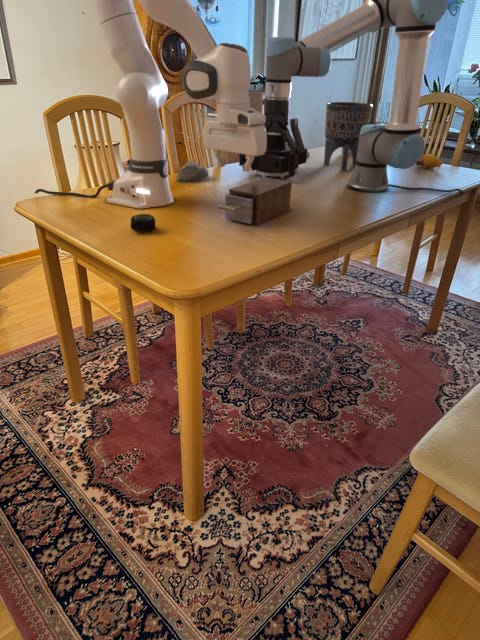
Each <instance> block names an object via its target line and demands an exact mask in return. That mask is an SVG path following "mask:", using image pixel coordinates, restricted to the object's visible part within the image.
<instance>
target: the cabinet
mask: <svg viewBox="0 0 480 640" xmlns="http://www.w3.org/2000/svg"><path fill="white" fill-rule="evenodd" d="M292 183H293V182H292V181H290V180H289V181H288V180H284V179H277V178H272V177H267V176H266V177H261V178H259V179H255V180H253V181H250V182H247V183H243V184H240V185H238V186H234V187H232V188H229V189H228V194H230V195H233V194H239V195H244V196H249V197H254V198H255V206H254V219H253V220H252V223H251V224H250V225H254V226H258V225H260V224H262V223H264V222H266V221H269V220H271V219H273V218H275V217H277V216H279V215H282V214H284V213H286V212H288V211H290V208H291V198H292V197H291V194H292Z"/></svg>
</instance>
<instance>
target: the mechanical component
mask: <svg viewBox="0 0 480 640" xmlns="http://www.w3.org/2000/svg"><path fill="white" fill-rule="evenodd" d="M238 154H239V153H238ZM290 154H292V152H291V150H290V148H289V146H288V145H287V143H286V141H285V139H284V138H283V136H282V135H281V134H280V133H274V132H272V133H270V132H268V133H267V148H266V152H265V153H264V154H263V155H260V156H259V158H258V169H257V170H255V173H256V174H257V175H261V178H264V177H266V178H267V177H279V178H280V179H285V176H288V173H289V160H290ZM310 156H311V154H310V152H309V151H308V148H305V152H303V153H300V154H299V158H298V165H296V166H295V174H296V173H298V171H299V167H300V165H303V164H304V165H305V164H307V160H309V158H310ZM238 157H239V159H238V166H240V167H243V165H244V164H245V163H246V161H247V159H246V154H239V155H238ZM251 169H252V164H251Z"/></svg>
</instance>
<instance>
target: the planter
mask: <svg viewBox="0 0 480 640" xmlns="http://www.w3.org/2000/svg"><path fill="white" fill-rule="evenodd" d="M373 107H374V106H373V104H372V103H367V102H353V101H333V102H327V103H326V109H325V124H324V125H325V126H324V139H325V144H324V156H323V157H324V158H323V165H325V166H328V165H330V163H331V158H332V156H333V154H334V153H335V151H336V150H337V149H340V148H341V152H342V153H341V166H340V170H341V172H345V171H347V167H348V166H347V165H348V159H349V153H348V152H349V150H350V151H351V153H352V154H351V153H350V154H351V157H352V158H351V159H352V160H351V161H352V166H353V167H355V165H356V158H357V150H358V143H359V135H360V131H361V128H362V127H363V126H364V125H370V121H371V116H372V112H373Z"/></svg>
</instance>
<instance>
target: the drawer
mask: <svg viewBox="0 0 480 640" xmlns="http://www.w3.org/2000/svg"><path fill="white" fill-rule="evenodd" d="M254 206H255V198H254V197H249V196H244V195H239V194H233V195H230V194H229V193H227V194H225V203H223V204H222V203H219V204H218V205H217V209H218V210H220V211H221V210H222V211H224V212H225V214H224V215H225V219H227V220H232V221H236V222H241V223H245V224H250V225H252V224H251V223H252V220H253V219H254Z"/></svg>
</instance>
